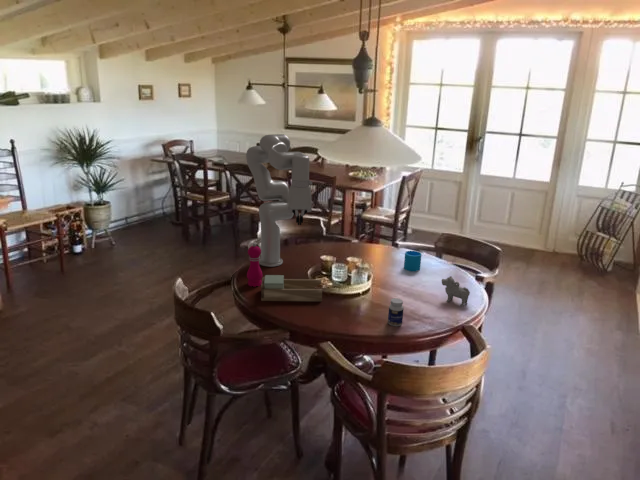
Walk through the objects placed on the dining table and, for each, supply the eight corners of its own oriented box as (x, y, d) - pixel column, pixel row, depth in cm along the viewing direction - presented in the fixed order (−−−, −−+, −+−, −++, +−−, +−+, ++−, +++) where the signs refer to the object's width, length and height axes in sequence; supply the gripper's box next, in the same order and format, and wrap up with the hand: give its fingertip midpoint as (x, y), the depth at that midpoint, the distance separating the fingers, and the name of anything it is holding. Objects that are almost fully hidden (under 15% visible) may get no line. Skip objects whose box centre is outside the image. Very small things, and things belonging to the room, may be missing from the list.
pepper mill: (259, 288, 238) (259, 246, 231) (244, 286, 239) (243, 244, 233) (264, 282, 244) (264, 241, 238) (249, 280, 246) (249, 239, 240)
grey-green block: (265, 287, 235) (265, 275, 233) (283, 288, 235) (283, 275, 233) (264, 296, 226) (264, 283, 224) (283, 296, 226) (283, 283, 224)
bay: (262, 289, 236) (262, 276, 234) (320, 290, 238) (321, 277, 236) (261, 300, 225) (261, 287, 223) (321, 301, 226) (322, 288, 224)
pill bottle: (390, 327, 206) (392, 304, 203) (385, 320, 211) (387, 297, 208) (404, 326, 207) (406, 303, 204) (399, 319, 212) (401, 297, 209)
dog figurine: (442, 295, 236) (444, 273, 233) (470, 303, 229) (472, 280, 226) (437, 299, 232) (439, 276, 229) (465, 307, 225) (468, 284, 222)
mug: (420, 272, 263) (422, 256, 260) (404, 271, 263) (405, 255, 261) (418, 263, 274) (420, 248, 272) (402, 262, 275) (404, 247, 272)
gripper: (317, 182, 232) (315, 222, 238) (283, 181, 231) (282, 221, 237) (317, 185, 225) (316, 227, 231) (282, 185, 224) (282, 226, 230)
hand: (299, 224), depth 234 cm, fingers closed
